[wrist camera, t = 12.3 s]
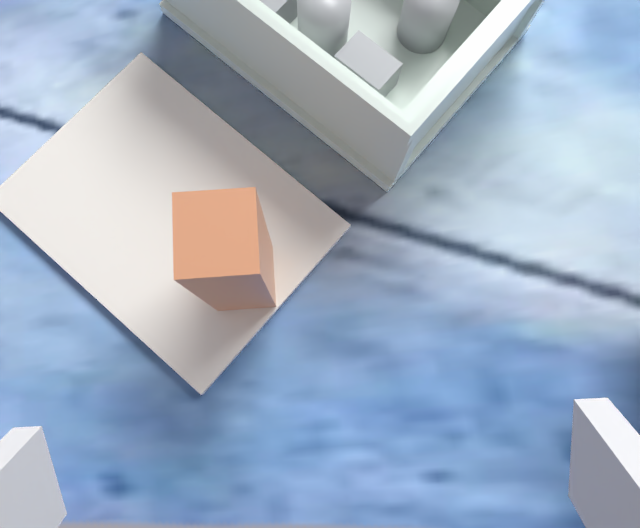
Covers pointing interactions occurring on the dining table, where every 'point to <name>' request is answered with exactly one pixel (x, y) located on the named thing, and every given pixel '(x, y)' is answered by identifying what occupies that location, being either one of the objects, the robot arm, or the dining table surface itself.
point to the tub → (362, 64)
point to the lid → (171, 220)
